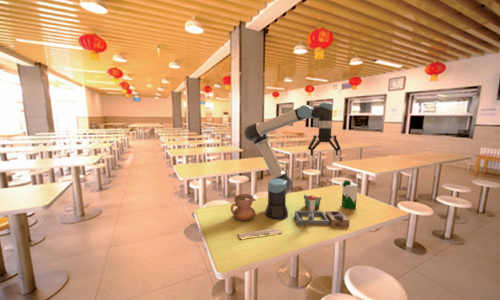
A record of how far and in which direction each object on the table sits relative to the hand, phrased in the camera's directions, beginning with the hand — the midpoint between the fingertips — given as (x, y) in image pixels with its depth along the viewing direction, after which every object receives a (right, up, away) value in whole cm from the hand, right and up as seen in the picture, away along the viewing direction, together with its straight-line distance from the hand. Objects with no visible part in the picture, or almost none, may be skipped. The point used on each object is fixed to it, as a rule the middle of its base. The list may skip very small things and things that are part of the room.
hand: (323, 160), depth 135 cm
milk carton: (+24, -35, +16) cm, 45 cm away
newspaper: (-42, -41, -19) cm, 62 cm away
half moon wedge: (-5, -36, +12) cm, 38 cm away
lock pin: (-9, -37, -4) cm, 39 cm away
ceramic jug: (-52, -37, +1) cm, 64 cm away
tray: (-9, -38, -4) cm, 39 cm away
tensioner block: (+6, -38, -6) cm, 39 cm away
